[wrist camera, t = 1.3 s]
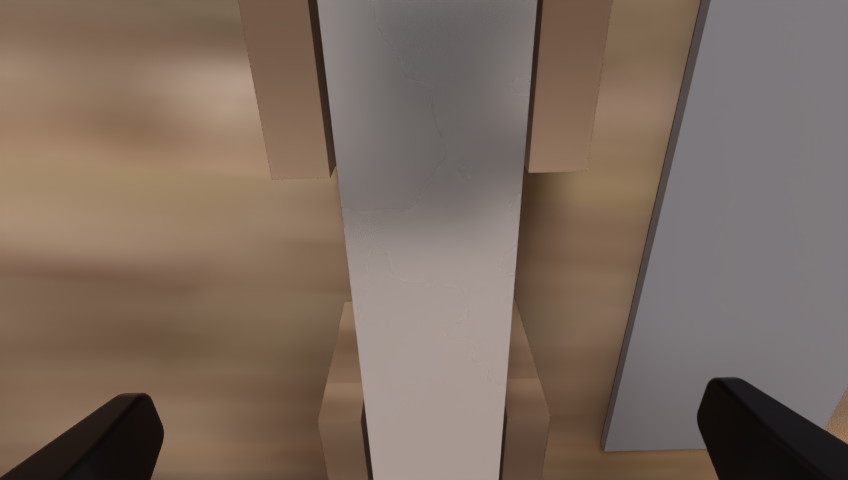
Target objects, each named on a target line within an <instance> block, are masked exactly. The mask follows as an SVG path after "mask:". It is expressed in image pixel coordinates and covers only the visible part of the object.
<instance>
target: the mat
mask: <svg viewBox="0 0 848 480" xmlns="http://www.w3.org/2000/svg"><path fill="white" fill-rule="evenodd" d="M715 377H738V378H741V379H743V380H745V381H747V382H748V383H750V384H751V385H753V386H755V387H756V388H758V389H760V390H761V391H763V392H764V393H766V394H768V395H769V396H771V397H772V398H774V399H776V400H777V401H779V402H780V403H782V404H784V405H785V406H787V407H789V408H790V409H792V410H793V411H795V412H797V413H798V414H800V415H801V416H803V417H805V418H806V419H808V420H810V421H811V422H813V423H814V424H816V425H818V426H819V427H821V428H822V429H824V428H825V426H826V424H827V423H828V421H829V419H830V417H831V415H832V414H833V412H834V410H835V408H836V406H837V404H838V403H839V401H840V399H841V397H842V395H843V394H844V392H845V390H846V388H847V386H848V0H701V4H700V9H699V13H698V18H697V22H696V26H695V31H694V35H693V40H692V44H691V48H690V53H689V57H688V61H687V66H686V70H685V75H684V79H683V83H682V88H681V92H680V97H679V101H678V105H677V110H676V114H675V118H674V123H673V127H672V132H671V136H670V140H669V145H668V149H667V153H666V158H665V162H664V167H663V171H662V175H661V180H660V184H659V189H658V193H657V197H656V202H655V206H654V210H653V215H652V219H651V224H650V228H649V232H648V237H647V241H646V246H645V250H644V254H643V259H642V263H641V267H640V272H639V276H638V281H637V285H636V289H635V294H634V298H633V302H632V307H631V311H630V316H629V320H628V324H627V329H626V333H625V338H624V342H623V346H622V351H621V355H620V359H619V364H618V368H617V373H616V377H615V381H614V386H613V390H612V395H611V399H610V403H609V408H608V412H607V416H606V421H605V425H604V430H603V434H602V438H601V445H602V448H603V450H604V451H644V450H683V449H707V448H706V446H705V443H704V441H703V438H702V436H701V433H700V431H699V428H698V424H697V412H698V408H699V406H700V403H701V400H702V397H703V394H704V392H705V389H706V386H707V383H708V381H710V380H711V379H712V378H715Z"/></svg>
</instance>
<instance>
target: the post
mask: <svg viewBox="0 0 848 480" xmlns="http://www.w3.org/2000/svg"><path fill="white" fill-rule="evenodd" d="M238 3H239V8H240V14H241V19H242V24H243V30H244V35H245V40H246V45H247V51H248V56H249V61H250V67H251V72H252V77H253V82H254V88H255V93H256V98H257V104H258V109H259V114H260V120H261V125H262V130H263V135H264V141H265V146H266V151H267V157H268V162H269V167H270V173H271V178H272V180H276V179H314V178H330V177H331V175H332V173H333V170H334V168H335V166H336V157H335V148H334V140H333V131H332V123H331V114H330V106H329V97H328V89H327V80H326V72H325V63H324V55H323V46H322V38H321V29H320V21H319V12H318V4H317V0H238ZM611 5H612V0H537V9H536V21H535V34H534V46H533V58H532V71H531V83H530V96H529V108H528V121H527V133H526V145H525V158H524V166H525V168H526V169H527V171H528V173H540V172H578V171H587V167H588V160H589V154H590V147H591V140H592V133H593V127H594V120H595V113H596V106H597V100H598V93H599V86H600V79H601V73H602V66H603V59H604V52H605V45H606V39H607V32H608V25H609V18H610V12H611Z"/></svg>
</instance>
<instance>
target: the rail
mask: <svg viewBox="0 0 848 480" xmlns="http://www.w3.org/2000/svg"><path fill="white" fill-rule="evenodd" d="M317 4H318V12H319V21H320V29H321V38H322V46H323V55H324V63H325V72H326V80H327V89H328V97H329V106H330V114H331V123H332V131H333V140H334V148H335V157H336V165H337V174H338V182H339V191H340V199H341V208H342V216H343V225H344V233H345V242H346V250H347V259H348V267H349V276H350V284H351V293H352V301H353V310H354V318H355V327H356V335H357V344H358V352H359V361H360V369H361V378H362V386H363V395H364V403H365V412H366V420H367V429H368V437H369V446H370V454H371V463H372V471H373V480H499V469H500V456H501V444H502V432H503V419H504V407H505V394H506V382H507V369H508V357H509V345H510V332H511V320H512V307H513V295H514V282H515V270H516V257H517V245H518V233H519V220H520V208H521V195H522V183H523V170H524V158H525V145H526V133H527V121H528V108H529V96H530V83H531V71H532V58H533V46H534V34H535V21H536V9H537V0H317Z"/></svg>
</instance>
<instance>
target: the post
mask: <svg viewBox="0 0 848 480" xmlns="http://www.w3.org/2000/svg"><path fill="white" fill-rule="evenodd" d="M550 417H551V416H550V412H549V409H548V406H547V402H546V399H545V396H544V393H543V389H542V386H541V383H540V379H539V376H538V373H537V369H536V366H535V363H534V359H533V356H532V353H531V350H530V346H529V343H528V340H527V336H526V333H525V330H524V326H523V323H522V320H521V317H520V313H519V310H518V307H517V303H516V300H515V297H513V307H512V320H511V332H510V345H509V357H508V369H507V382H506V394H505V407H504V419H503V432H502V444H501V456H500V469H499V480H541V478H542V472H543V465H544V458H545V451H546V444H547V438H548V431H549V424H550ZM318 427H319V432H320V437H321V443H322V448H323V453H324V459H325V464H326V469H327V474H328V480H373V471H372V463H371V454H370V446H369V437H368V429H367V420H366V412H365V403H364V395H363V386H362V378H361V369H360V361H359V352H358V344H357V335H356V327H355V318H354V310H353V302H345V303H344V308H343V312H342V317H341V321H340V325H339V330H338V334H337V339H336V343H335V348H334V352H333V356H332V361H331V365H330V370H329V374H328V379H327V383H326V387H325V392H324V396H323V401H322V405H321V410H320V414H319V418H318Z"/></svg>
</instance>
